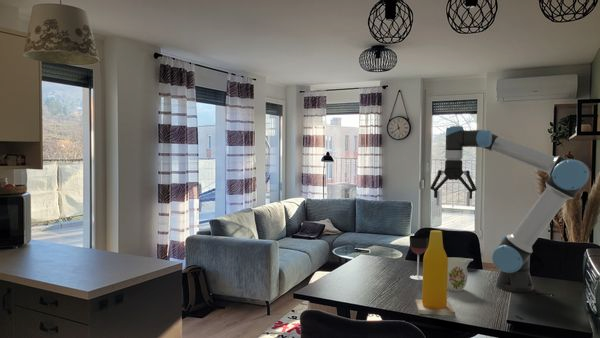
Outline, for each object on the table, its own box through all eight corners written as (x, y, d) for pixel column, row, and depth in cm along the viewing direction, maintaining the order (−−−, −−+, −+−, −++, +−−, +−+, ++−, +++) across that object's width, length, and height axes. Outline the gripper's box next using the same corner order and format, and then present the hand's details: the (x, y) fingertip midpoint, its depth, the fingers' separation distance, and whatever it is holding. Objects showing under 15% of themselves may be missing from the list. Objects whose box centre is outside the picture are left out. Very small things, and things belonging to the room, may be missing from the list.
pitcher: (428, 284, 199) (429, 255, 199) (468, 286, 198) (469, 256, 198) (434, 292, 188) (435, 261, 188) (476, 293, 187) (477, 262, 187)
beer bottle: (420, 307, 165) (422, 232, 164) (423, 300, 173) (424, 228, 172) (446, 311, 161) (448, 234, 160) (447, 303, 170) (449, 230, 169)
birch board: (448, 305, 172) (448, 301, 172) (455, 316, 160) (455, 312, 160) (415, 303, 174) (415, 299, 174) (419, 313, 162) (419, 309, 162)
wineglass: (427, 280, 206) (428, 238, 206) (409, 279, 208) (409, 238, 207) (426, 276, 214) (427, 235, 213) (408, 274, 216) (409, 235, 215)
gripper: (479, 160, 201) (478, 205, 202) (424, 159, 205) (423, 203, 205) (484, 160, 194) (483, 207, 194) (427, 159, 197) (426, 205, 198)
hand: (452, 205), depth 200 cm, fingers open, 13 cm apart
